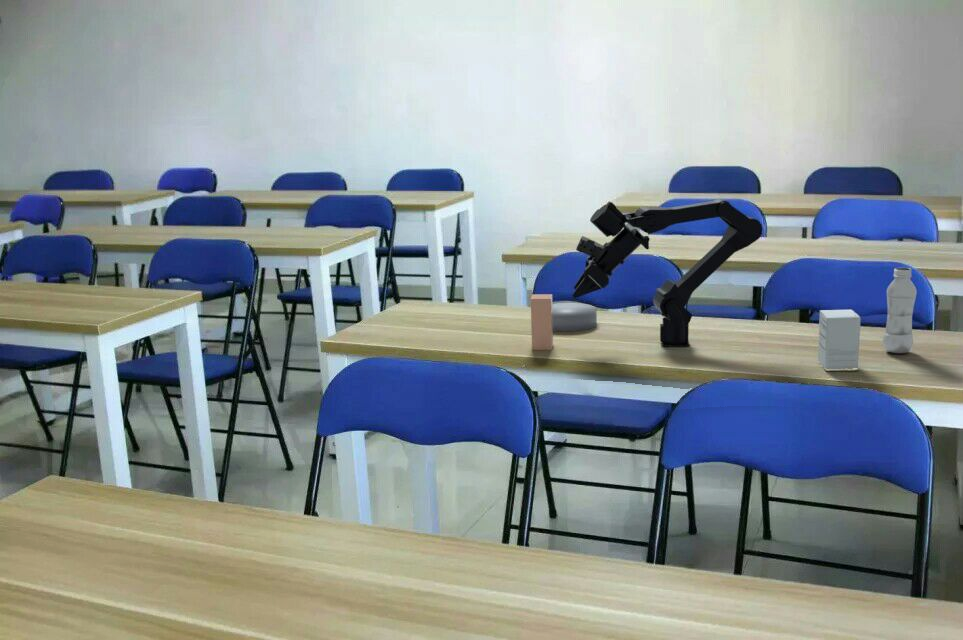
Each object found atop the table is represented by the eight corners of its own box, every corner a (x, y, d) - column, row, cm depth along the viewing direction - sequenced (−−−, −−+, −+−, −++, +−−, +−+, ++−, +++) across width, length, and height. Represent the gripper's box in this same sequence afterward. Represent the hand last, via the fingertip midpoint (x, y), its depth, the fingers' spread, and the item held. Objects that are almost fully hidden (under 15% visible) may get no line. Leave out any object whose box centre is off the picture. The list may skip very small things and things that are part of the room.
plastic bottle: (875, 350, 238) (880, 268, 233) (898, 347, 240) (904, 265, 235) (895, 357, 232) (901, 273, 227) (918, 353, 234) (924, 269, 229)
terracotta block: (553, 344, 254) (552, 294, 251) (552, 349, 250) (550, 298, 246) (533, 344, 255) (532, 294, 252) (532, 349, 250) (530, 298, 247)
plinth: (597, 316, 280) (597, 302, 279) (596, 331, 265) (595, 316, 264) (540, 316, 282) (539, 303, 281) (535, 331, 267) (535, 316, 266)
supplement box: (849, 362, 230) (852, 308, 227) (858, 371, 223) (861, 316, 220) (816, 362, 231) (819, 309, 227) (824, 372, 223) (826, 317, 220)
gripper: (596, 220, 252) (553, 263, 256) (594, 231, 234) (548, 278, 238) (628, 250, 253) (584, 293, 257) (628, 264, 235) (581, 310, 239)
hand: (574, 292), depth 248 cm, fingers open, 9 cm apart
